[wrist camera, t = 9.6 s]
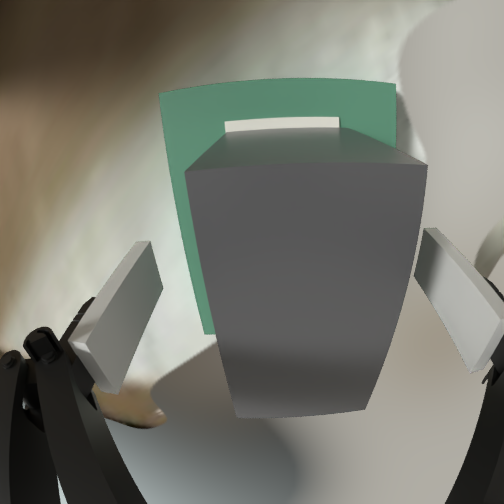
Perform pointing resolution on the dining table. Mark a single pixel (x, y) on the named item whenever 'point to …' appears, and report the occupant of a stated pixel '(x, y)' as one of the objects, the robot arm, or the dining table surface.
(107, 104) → the dining table surface
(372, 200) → the block
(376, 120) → the board
